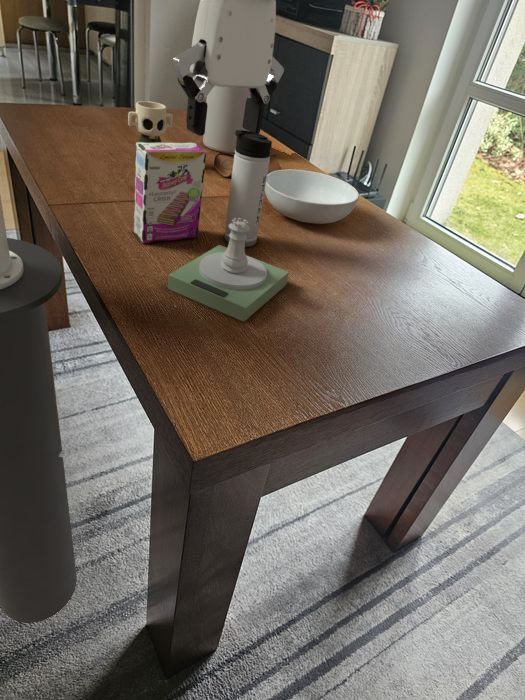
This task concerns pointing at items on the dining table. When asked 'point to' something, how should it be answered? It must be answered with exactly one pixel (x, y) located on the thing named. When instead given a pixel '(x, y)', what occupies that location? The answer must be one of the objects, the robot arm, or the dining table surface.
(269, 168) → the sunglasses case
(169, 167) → the candy bar box
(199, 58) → the robot arm
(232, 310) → the kitchen scale
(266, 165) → the travel mug
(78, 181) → the dining table surface
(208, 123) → the cylinder vase
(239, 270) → the rook chess piece
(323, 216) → the serving bowl
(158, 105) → the character mug
